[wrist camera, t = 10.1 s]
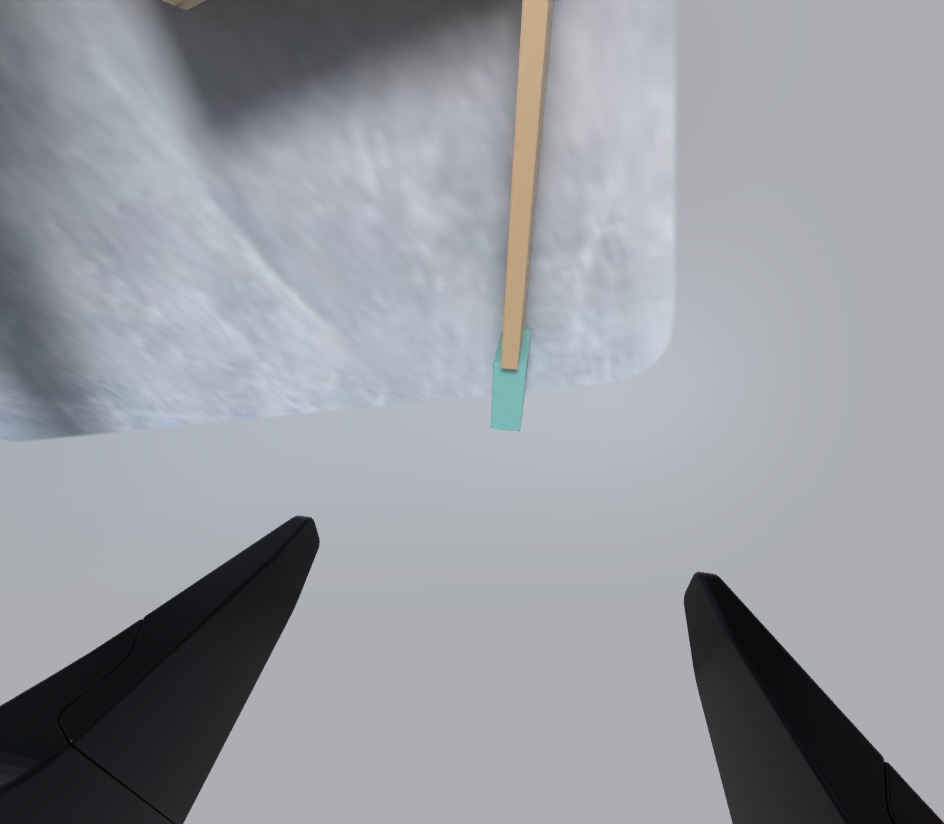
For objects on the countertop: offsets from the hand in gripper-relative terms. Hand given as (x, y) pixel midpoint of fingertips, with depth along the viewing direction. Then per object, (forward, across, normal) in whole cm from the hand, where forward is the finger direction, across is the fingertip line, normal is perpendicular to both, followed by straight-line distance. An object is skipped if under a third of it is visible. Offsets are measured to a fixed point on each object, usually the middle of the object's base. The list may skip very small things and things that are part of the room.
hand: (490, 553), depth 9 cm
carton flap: (+11, 0, -7) cm, 13 cm away
